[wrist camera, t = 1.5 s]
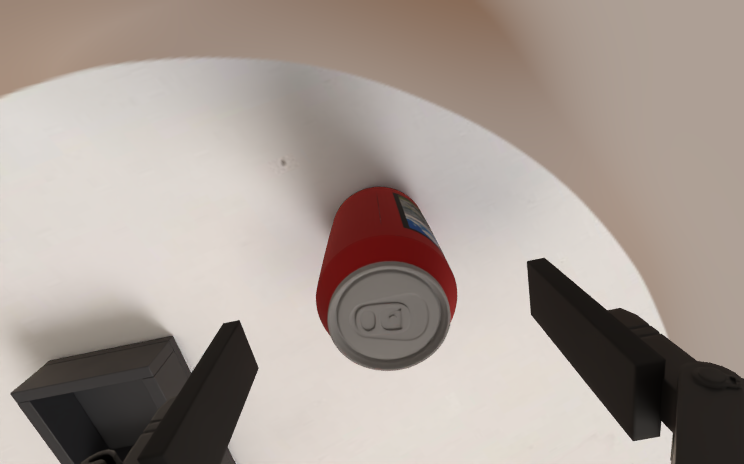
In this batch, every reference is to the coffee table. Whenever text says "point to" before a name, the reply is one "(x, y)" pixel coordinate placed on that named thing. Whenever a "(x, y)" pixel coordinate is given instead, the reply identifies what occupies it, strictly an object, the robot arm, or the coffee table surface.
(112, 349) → the divided tray
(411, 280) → the beverage can
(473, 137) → the coffee table surface
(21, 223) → the coffee table surface
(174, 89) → the coffee table surface
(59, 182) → the coffee table surface
